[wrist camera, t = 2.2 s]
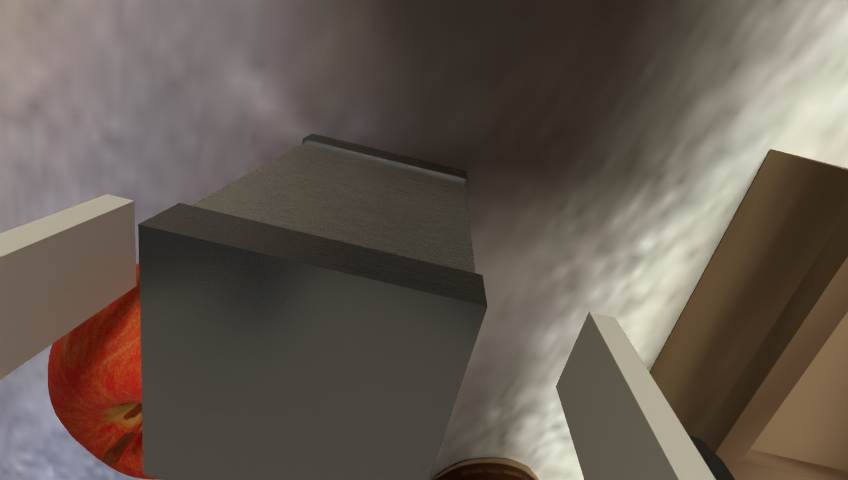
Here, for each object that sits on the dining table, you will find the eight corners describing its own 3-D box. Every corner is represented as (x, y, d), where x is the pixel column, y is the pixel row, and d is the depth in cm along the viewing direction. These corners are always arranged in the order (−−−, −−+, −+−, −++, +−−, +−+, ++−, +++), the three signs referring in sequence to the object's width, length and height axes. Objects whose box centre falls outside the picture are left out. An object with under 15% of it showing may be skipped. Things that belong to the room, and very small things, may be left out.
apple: (235, 194, 18) (80, 289, 10) (352, 339, 20) (295, 503, 13) (104, 284, 20) (-106, 419, 12) (225, 407, 22) (110, 582, 14)
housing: (294, 271, 19) (143, 474, 10) (312, 133, 16) (138, 224, 7) (429, 303, 19) (411, 531, 10) (466, 171, 17) (487, 306, 7)
